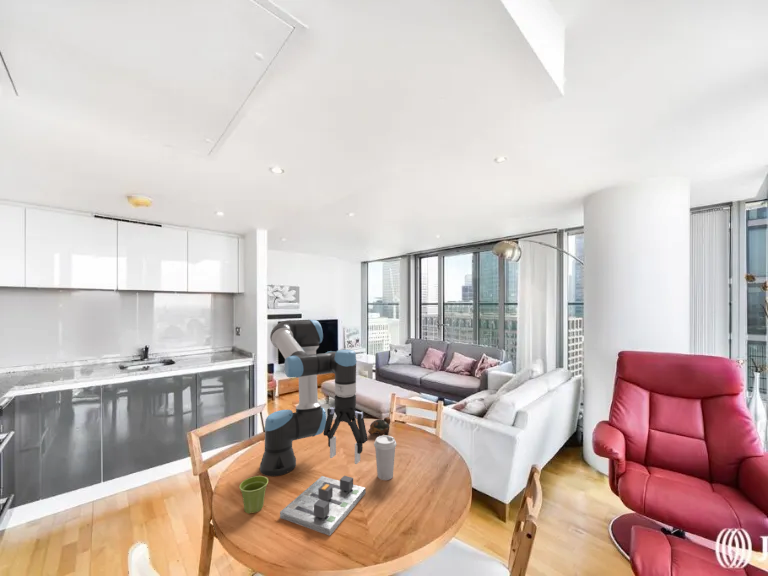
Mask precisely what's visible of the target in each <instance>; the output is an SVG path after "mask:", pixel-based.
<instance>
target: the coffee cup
mask: <svg viewBox="0 0 768 576" xmlns="http://www.w3.org/2000/svg"><path fill="white" fill-rule="evenodd" d="M373 445H374V446H373V447H374V448H375V460H376V474H377V478H378V479H379V480H381V481H389V480H391V479H393V477H394V469H395V468H394V467H395V466H394V465H395V454H396V446H397V442H396V440H395V437H393V436H391V435H382V436H380V435H378V436H377V437H376V438H375V440H374V443H373Z"/></svg>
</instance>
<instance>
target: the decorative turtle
mask: <svg viewBox="0 0 768 576" xmlns="http://www.w3.org/2000/svg"><path fill="white" fill-rule="evenodd" d="M390 425H391V418H390V417H388V416H387V417H384V419H382V418H379V419H375V420H374V421H372V422H371V423H370V425H369V429H368V431H367V432H368V434H369V435H371V436H372V435H375V434H378V436H384V434H385V435H388V434H389V432H390Z"/></svg>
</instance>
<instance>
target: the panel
mask: <svg viewBox="0 0 768 576" xmlns="http://www.w3.org/2000/svg"><path fill="white" fill-rule="evenodd" d="M323 484H325V485H326V484H328V485H330V486H332V487H333V497H332V498H331V499H330V500H329V501H326V502H329V514H328V515H327V516H326V517H325V518H324V519H323V518H320V517H317V516H314V504H315V503H316V502H317V501H318V500H319V499H318V488H320V487H321V486H322V485H323ZM366 489H367V488H366V487H364V486H360V485H357V484H353V488H352V489H351V490H350V491H349V492H348V491H345V490H341V489H340V479H339V480H338V479H334V478H331V477H327V476H323V475H321V476H320V477H319V478H318V479H317V480H316V481H315V482H313V483H312V484H311V485H309V487H307V488H306V489H305V490H304V491H302V492H301V494H299V495H298V496H297V497H295V498H294V500H292V501H291V502H290V503H288V504H287V505H286V506H285V507H284V508H282V509H281V510H280V511H279V518H280V519H282V520H284V521H288V522H290V523H293V524H296V525H299V526H301V527H304V528H307V529H309V530H311V531H315V532H318V533H321V534H323V535H327V536H328V537H329V536H332V534H333V533H334V532H335V530H336V529H337V528H338V527H339V526H340V525H341V523H342V522H343V521H344V520H345V519H346V518H347V516H348V515H349V514H350V513H351V511H352V510H353V509H354V508H355V507H356V505H357V504H358V503H359V502H360V501H361V499H362V498H363V497H364V496H365V495H366V493H367V492H366ZM320 500H321V499H320ZM323 501H325V500H323Z"/></svg>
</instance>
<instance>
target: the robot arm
mask: <svg viewBox="0 0 768 576" xmlns="http://www.w3.org/2000/svg"><path fill="white" fill-rule="evenodd" d="M269 338H270V342H271V344H272V345H273V346H274V347H275V348H277V349H278V350H279V353H281V355H282V357H283V358H284V372H285V376H286V377H287V378H298V404H297V406H296V407H295V412H293V410H292V409H280V410H277V411H273V412H272V413H270V414H269V415H268V416H266V418H265V421H264V450H263V451H264V452H263V454H262V457H261V462H260V465H259V472H260V474H261V475H262V476H263V475H264V476H265V477H266V476H267V477H278V476H279V477H280V476H283V475H285V474H288V473H290V472H292V471H293V470H294V469H295V468H296V466H297V458H296V456H295V451H294V449H293V441H297V440H302V439H305V438H310V437H312V438H313V437H315V436H318V435H321V434H322V433H323V436H325V437H327V440H328V441H327V442H328V443H327V445H328V447H329V458H330V459H332V458H334V457H335V456H336V455H337V437H336V432H337V429H338V428H339V426H340V424H341V423H342V422H344V423H347V425H348V426H349V427H350V430H351V432H352V435H353V437H354V439H355V444H354V464H355V465H357V464H358V463H360V461H361V454H362V452H363V451H364V450H363V448H364V447H363V444H365V443H366V442H367V441H368V439H369V438H368V433H367V429H366V425H365V419H364V418H365V412H364V411H357V409H356V404H357V395H356V393H357V353H356V352H355V350H353V349H340V350H339V349H338V350H336V351H332V350H330V351H327V352H325V353H317V350H318V349H319V347H320V344H321V343H322V342H323V339H324V333H323V328H322V325H321V323H320V322H319V321H318V320H316V319H293V320H291V319H289V320H284V321H282V322H281V321H280V322H279V323H277V324H276V325H275V326H274V327H273V328H272V330H271V332H270V337H269ZM327 374H334V394H335V395H334V407H333V406H331V407H329V408H327V410H326V409H325V408H324V407H322V404H321V403H320V402H319V400H318V399H319V397H318V375H327ZM326 412H327V413H326ZM335 415H336V417H335V419H334V416H335ZM333 419H334V420H333ZM333 421H334V422H333Z"/></svg>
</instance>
